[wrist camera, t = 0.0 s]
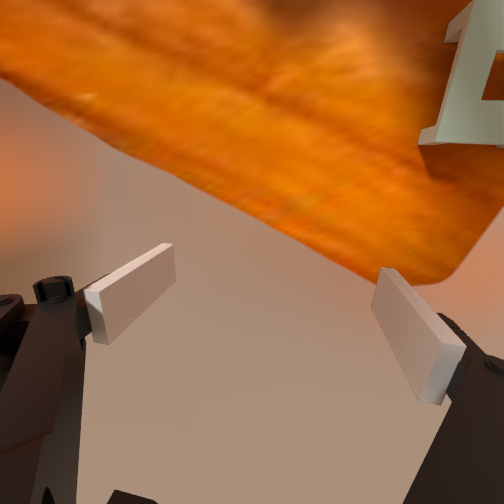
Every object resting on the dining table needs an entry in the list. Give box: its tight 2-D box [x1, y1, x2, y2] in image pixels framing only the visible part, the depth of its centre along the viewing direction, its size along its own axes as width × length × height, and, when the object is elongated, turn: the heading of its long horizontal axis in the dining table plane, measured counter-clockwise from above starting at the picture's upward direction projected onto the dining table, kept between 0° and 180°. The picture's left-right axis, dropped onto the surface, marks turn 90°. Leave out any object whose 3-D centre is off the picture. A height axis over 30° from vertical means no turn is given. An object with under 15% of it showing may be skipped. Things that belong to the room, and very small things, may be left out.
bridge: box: [417, 0, 504, 148], centre depth 30 cm, size 14×12×5 cm
